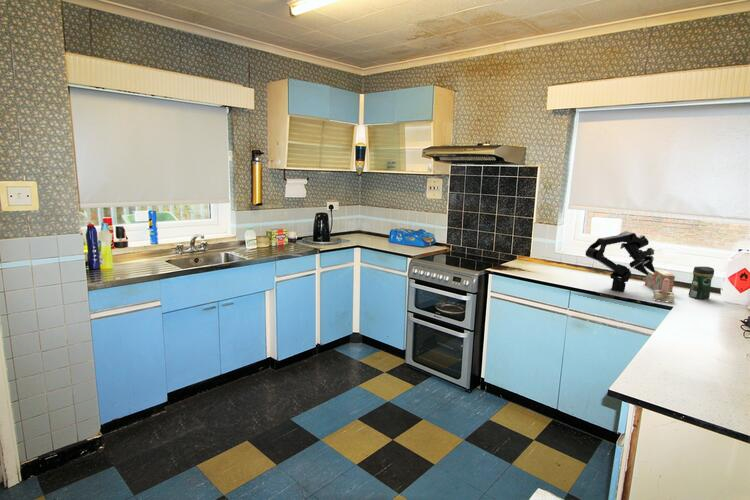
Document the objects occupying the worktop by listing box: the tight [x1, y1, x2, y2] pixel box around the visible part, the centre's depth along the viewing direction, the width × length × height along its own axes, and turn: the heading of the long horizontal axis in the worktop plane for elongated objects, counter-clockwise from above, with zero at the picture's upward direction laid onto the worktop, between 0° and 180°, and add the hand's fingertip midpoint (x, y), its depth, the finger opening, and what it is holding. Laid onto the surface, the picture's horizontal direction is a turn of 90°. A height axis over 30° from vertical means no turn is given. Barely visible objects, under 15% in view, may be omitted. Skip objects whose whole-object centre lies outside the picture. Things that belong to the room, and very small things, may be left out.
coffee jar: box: [688, 266, 715, 300], centre depth 248 cm, size 10×8×19 cm
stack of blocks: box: [644, 269, 676, 292], centre depth 261 cm, size 21×6×12 cm, turn 170°
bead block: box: [653, 290, 675, 303], centre depth 242 cm, size 9×9×4 cm
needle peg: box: [661, 278, 670, 295], centre depth 242 cm, size 3×3×12 cm
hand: (651, 273), depth 247 cm, fingers open, 9 cm apart
